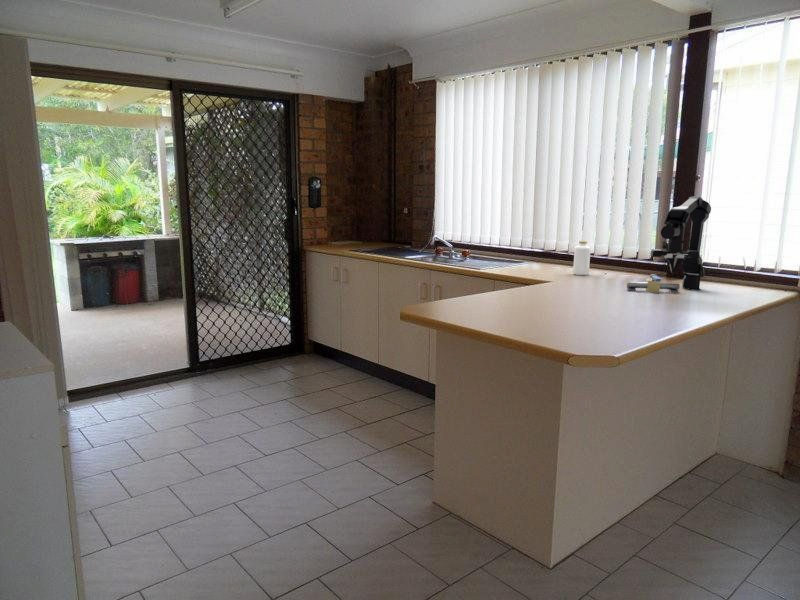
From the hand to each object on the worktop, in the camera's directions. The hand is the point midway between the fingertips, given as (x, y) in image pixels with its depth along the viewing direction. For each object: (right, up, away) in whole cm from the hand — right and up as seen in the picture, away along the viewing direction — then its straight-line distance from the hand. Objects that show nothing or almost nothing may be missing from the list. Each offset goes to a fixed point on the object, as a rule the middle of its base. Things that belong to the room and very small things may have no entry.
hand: (672, 273), depth 248 cm
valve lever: (-5, -2, +6) cm, 8 cm away
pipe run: (-4, -8, +12) cm, 15 cm away
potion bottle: (-21, +2, +61) cm, 64 cm away
